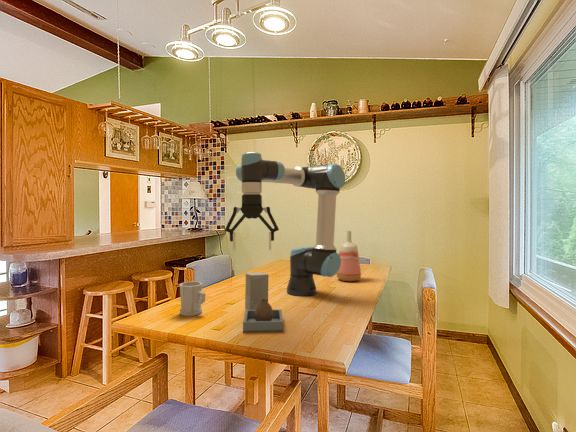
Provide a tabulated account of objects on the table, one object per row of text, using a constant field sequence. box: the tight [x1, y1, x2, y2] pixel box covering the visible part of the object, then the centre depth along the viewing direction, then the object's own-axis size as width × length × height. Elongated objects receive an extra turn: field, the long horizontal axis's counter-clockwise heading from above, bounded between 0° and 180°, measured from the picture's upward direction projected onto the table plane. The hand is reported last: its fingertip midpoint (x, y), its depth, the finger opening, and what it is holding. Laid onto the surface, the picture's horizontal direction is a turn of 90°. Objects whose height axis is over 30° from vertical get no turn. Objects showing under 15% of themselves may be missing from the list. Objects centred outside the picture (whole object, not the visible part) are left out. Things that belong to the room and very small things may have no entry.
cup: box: [179, 281, 206, 317], centre depth 136 cm, size 10×9×12 cm
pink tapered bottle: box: [335, 230, 362, 283], centre depth 199 cm, size 14×14×30 cm
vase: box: [254, 299, 274, 321], centre depth 123 cm, size 7×7×9 cm
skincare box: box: [244, 272, 269, 311], centre depth 140 cm, size 8×7×16 cm
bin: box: [242, 308, 284, 333], centre depth 123 cm, size 14×14×4 cm
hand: (252, 249), depth 127 cm, fingers open, 13 cm apart
